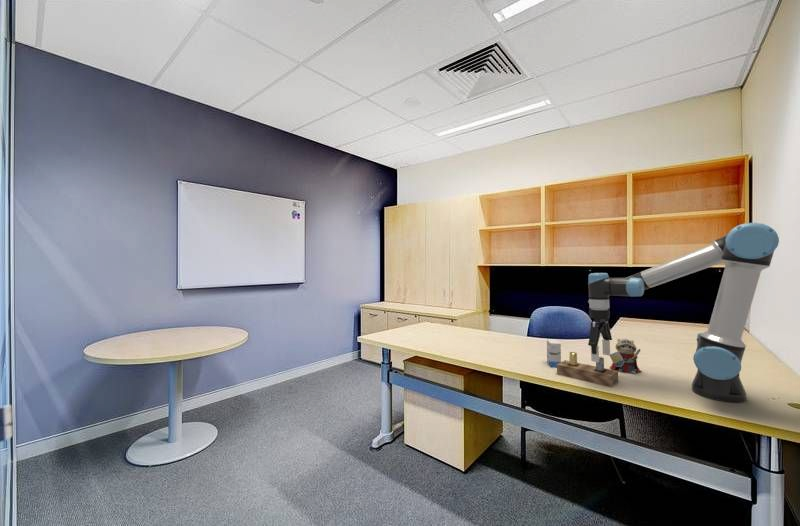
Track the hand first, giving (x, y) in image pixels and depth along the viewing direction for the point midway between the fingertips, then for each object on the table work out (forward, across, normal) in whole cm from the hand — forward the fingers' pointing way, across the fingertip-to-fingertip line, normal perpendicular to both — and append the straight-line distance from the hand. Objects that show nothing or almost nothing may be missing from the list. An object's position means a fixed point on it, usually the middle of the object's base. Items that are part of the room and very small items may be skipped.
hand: (601, 358), depth 143 cm
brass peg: (+10, 0, -12) cm, 15 cm away
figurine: (+10, -22, +3) cm, 24 cm away
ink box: (+10, -8, -24) cm, 27 cm away
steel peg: (+10, 0, -1) cm, 10 cm away
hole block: (+10, 0, -6) cm, 12 cm away
